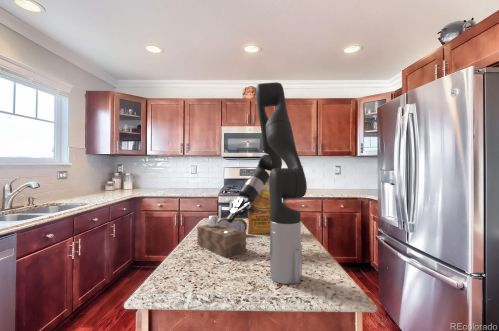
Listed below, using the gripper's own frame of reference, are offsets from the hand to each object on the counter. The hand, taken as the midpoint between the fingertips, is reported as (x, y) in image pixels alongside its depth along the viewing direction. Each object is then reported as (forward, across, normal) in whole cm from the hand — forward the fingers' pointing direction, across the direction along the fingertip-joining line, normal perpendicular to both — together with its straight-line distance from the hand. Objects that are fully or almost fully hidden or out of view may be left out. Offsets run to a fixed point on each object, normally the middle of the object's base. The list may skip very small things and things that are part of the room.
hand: (228, 221), depth 100 cm
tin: (-3, -20, +20) cm, 28 cm away
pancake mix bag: (-14, -14, +30) cm, 36 cm away
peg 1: (+5, -11, +5) cm, 14 cm away
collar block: (+8, -6, +8) cm, 13 cm away
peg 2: (+8, 0, +9) cm, 12 cm away
